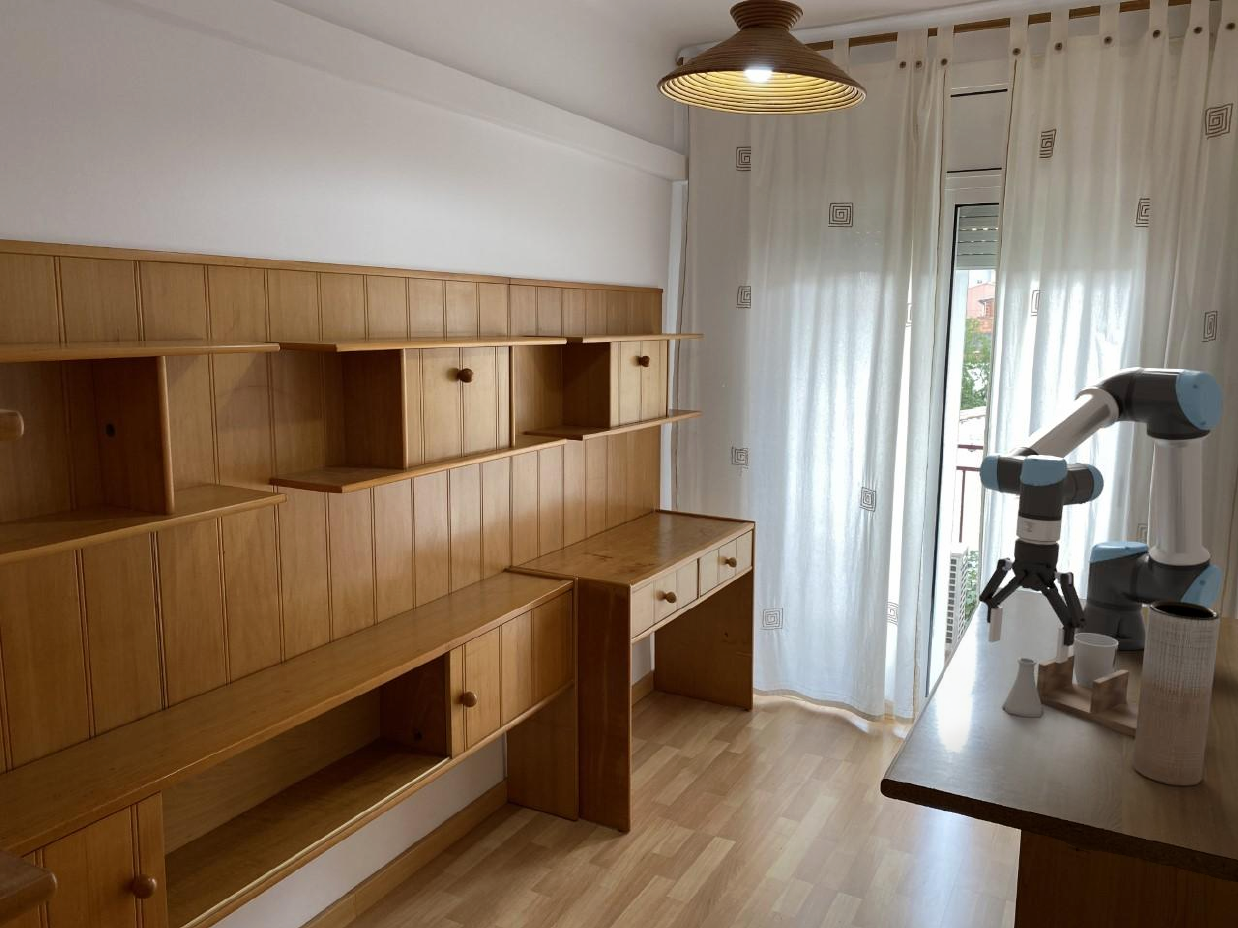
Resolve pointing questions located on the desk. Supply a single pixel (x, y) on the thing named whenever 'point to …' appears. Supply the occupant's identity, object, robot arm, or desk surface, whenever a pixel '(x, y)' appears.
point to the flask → (1024, 692)
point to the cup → (1093, 657)
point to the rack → (1088, 696)
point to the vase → (1175, 692)
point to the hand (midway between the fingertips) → (1026, 650)
